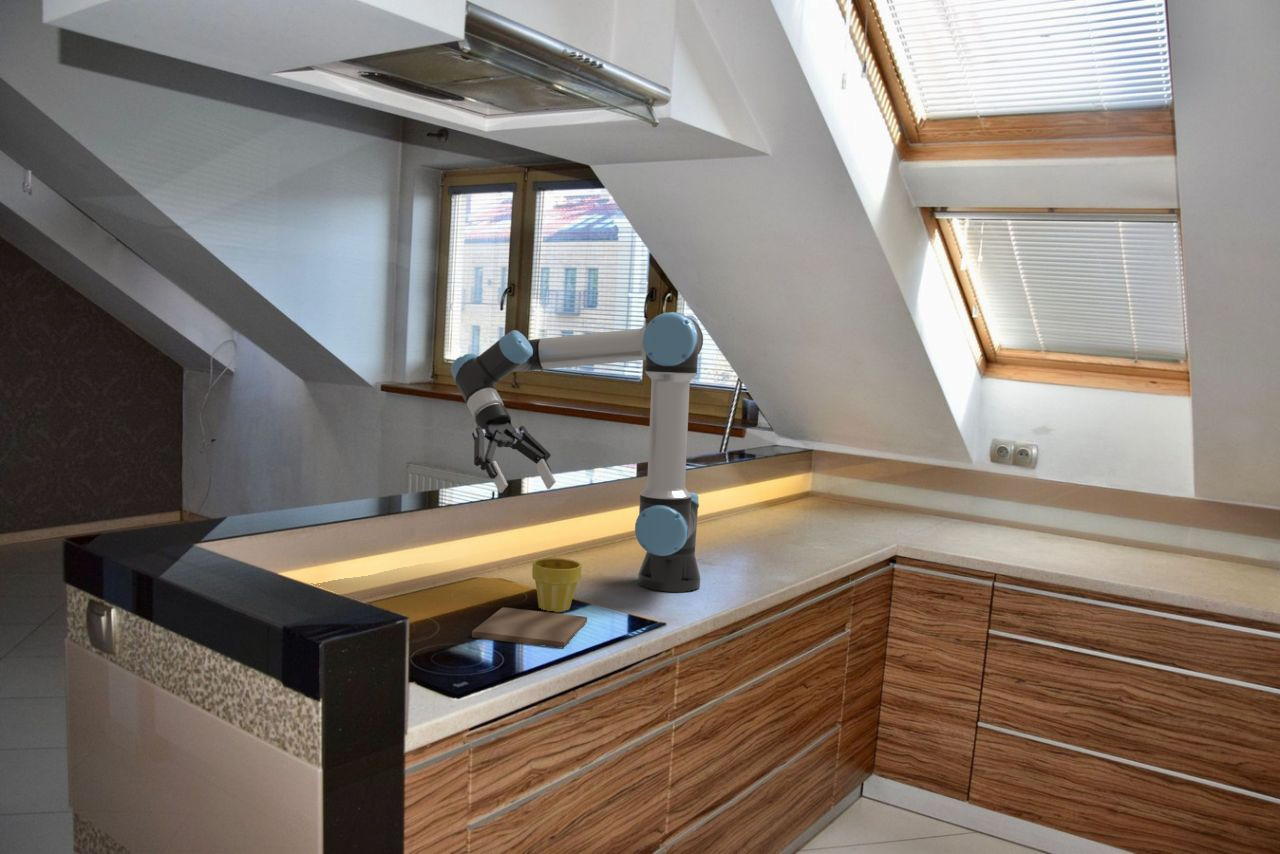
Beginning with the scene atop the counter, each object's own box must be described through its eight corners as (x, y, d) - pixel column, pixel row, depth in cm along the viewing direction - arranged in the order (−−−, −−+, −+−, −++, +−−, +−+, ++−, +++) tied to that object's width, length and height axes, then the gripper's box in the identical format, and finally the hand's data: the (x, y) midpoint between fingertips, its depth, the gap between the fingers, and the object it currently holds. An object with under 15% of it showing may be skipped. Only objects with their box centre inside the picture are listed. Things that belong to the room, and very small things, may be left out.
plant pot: (579, 615, 199) (582, 569, 199) (529, 613, 198) (532, 567, 198) (578, 602, 210) (581, 558, 209) (531, 600, 209) (533, 556, 208)
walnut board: (586, 622, 195) (587, 616, 195) (564, 648, 177) (564, 642, 177) (502, 612, 198) (502, 607, 198) (471, 637, 180) (472, 631, 180)
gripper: (523, 422, 230) (561, 493, 221) (436, 423, 211) (474, 501, 202) (539, 402, 226) (578, 474, 217) (451, 401, 207) (490, 479, 198)
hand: (528, 487), depth 209 cm, fingers open, 13 cm apart
